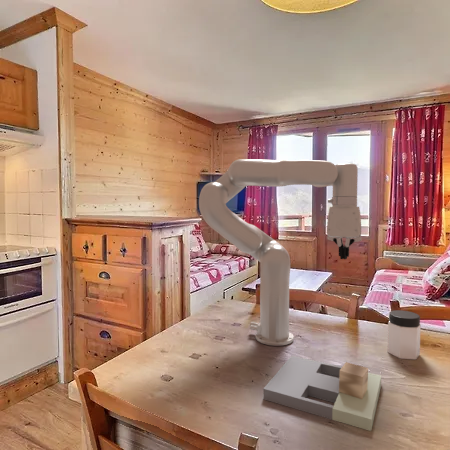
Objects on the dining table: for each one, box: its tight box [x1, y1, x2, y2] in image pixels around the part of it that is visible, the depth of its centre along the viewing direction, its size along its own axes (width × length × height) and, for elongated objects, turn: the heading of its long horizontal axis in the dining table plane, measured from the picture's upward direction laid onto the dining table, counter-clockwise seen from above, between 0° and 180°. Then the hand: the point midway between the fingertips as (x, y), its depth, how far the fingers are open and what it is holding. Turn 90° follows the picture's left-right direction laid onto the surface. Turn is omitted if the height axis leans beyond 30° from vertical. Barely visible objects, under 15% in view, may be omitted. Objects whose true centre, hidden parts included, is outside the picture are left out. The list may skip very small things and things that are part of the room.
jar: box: [387, 309, 422, 360], centre depth 103 cm, size 9×8×12 cm
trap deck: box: [262, 355, 382, 432], centre depth 82 cm, size 23×20×2 cm
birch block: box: [338, 361, 369, 399], centre depth 78 cm, size 5×5×5 cm
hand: (343, 258), depth 112 cm, fingers closed
